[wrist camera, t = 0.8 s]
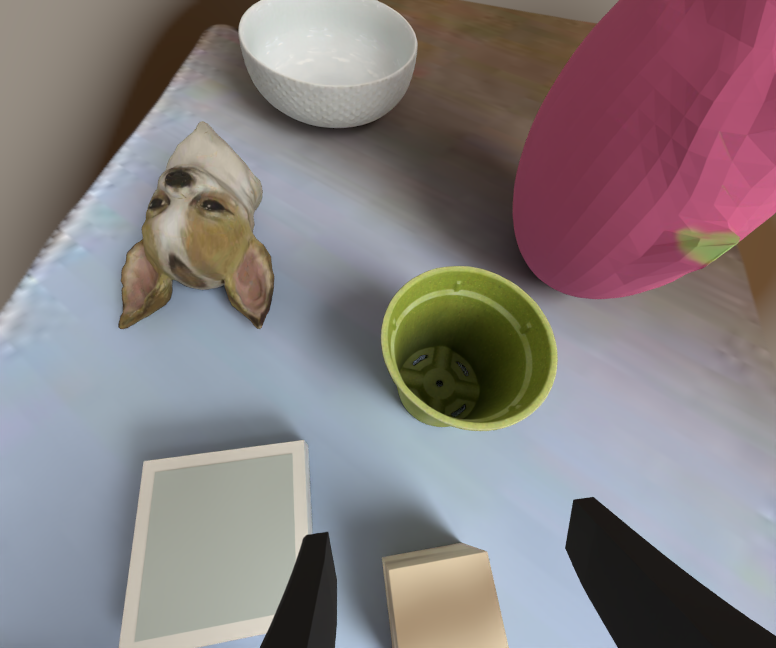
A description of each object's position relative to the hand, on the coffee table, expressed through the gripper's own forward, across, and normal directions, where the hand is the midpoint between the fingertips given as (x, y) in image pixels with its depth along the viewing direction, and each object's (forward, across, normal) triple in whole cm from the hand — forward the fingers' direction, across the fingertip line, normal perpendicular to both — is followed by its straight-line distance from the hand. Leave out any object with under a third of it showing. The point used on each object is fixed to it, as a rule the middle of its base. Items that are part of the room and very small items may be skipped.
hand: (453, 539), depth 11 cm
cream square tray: (+9, +11, +9) cm, 17 cm away
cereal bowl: (+40, +3, -17) cm, 44 cm away
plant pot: (+16, -3, +5) cm, 17 cm away
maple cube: (+6, 0, +13) cm, 15 cm away
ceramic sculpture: (+24, +14, -4) cm, 28 cm away
